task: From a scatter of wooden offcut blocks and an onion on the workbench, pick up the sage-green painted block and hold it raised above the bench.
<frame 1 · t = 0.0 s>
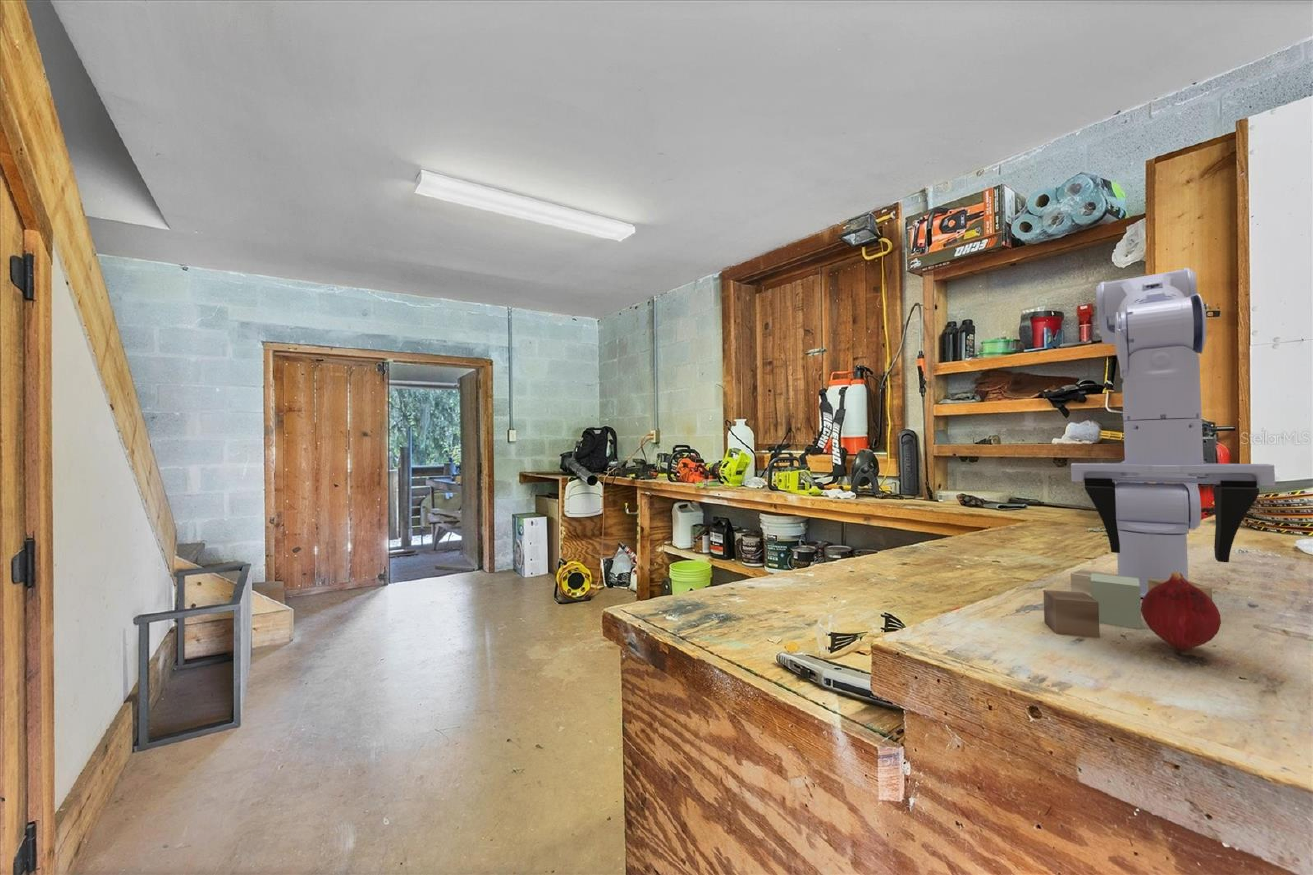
hand: (1166, 555, 53), 10 cm above the workbench, tool pointing down, fingers open, 7 cm apart
maple block: (1095, 604, 70), on the workbench
walnut block: (1070, 630, 61), on the workbench
onion: (1181, 652, 55), on the workbench
sage block: (1116, 621, 64), on the workbench
oak block: (1179, 615, 65), on the workbench
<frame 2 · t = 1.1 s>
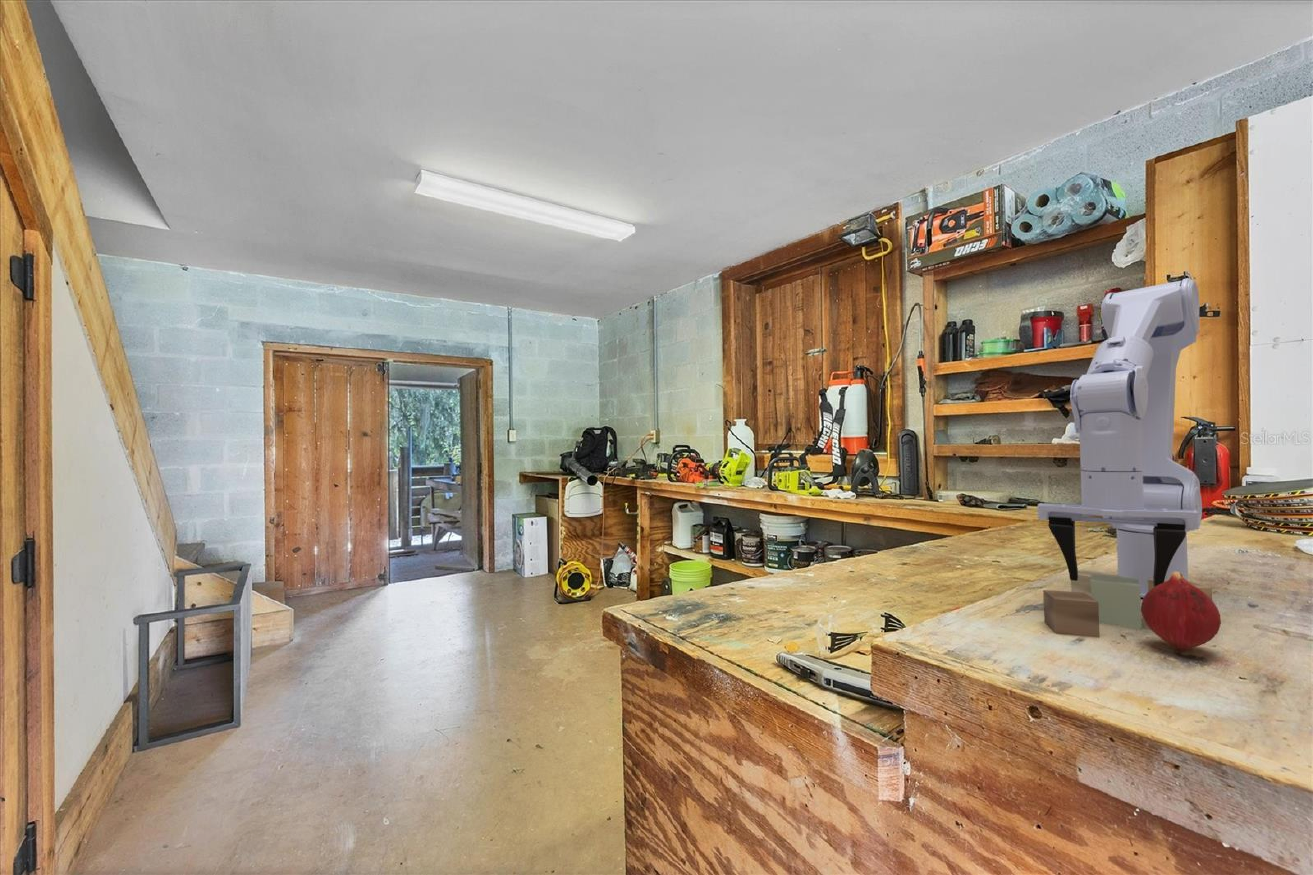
hand: (1114, 583, 64), 4 cm above the workbench, tool pointing down, fingers open, 7 cm apart
nothing on the workbench moved.
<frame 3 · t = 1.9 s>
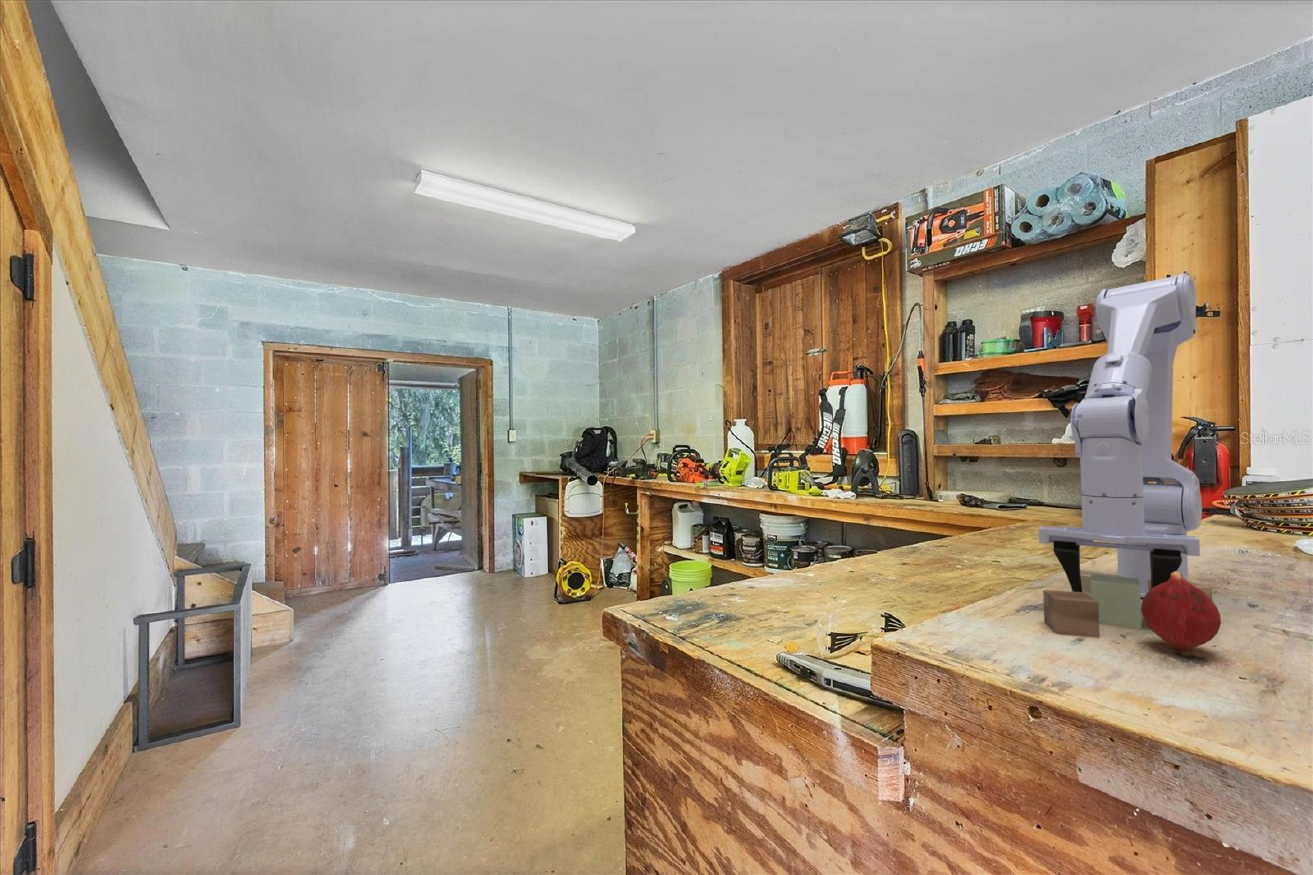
hand: (1115, 608, 64), 1 cm above the workbench, tool pointing down, fingers open, 6 cm apart
nothing on the workbench moved.
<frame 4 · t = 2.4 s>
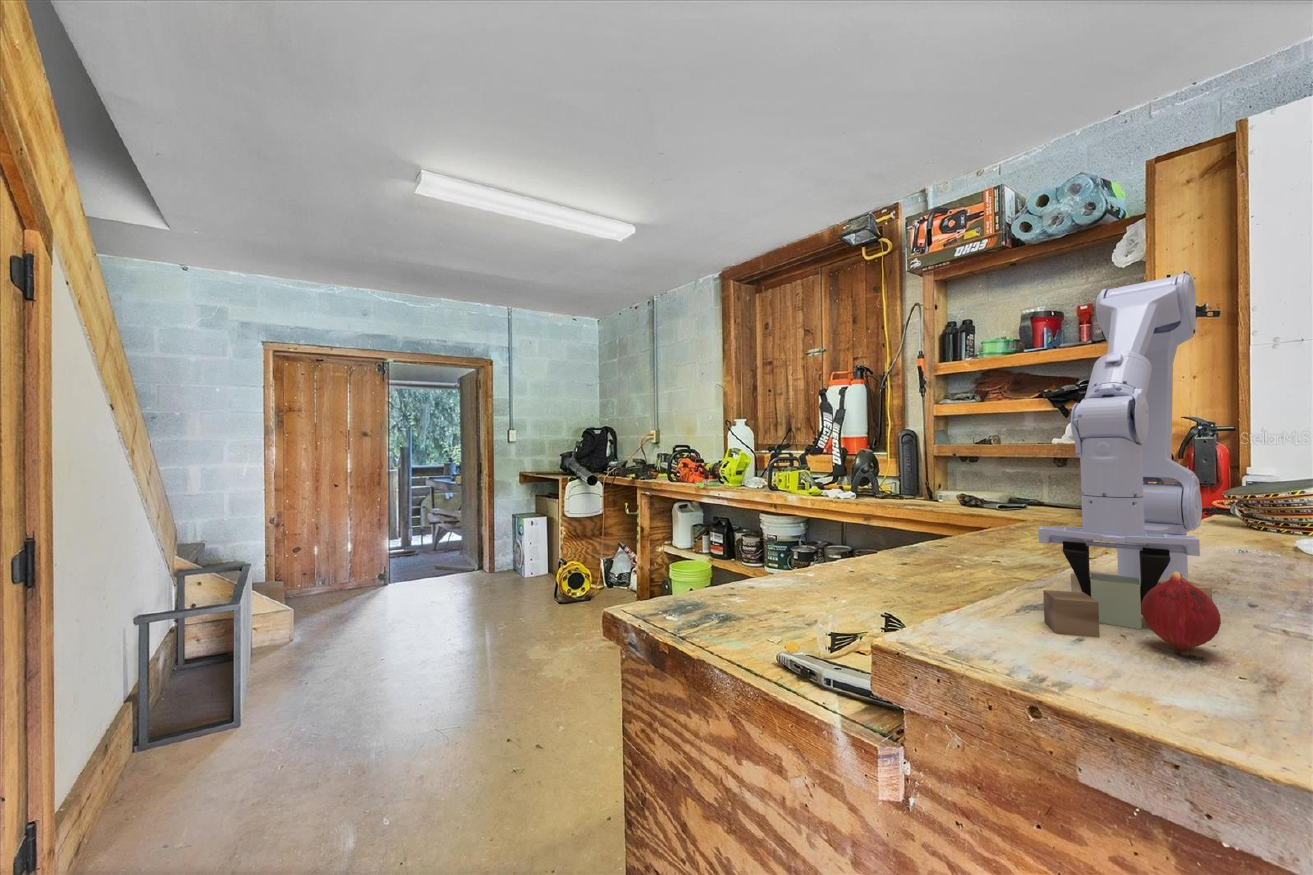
hand: (1115, 608, 64), 1 cm above the workbench, tool pointing down, fingers closed on sage block, 4 cm apart
sage block: (1116, 620, 64), on the workbench, touching gripper
everything else where it was.
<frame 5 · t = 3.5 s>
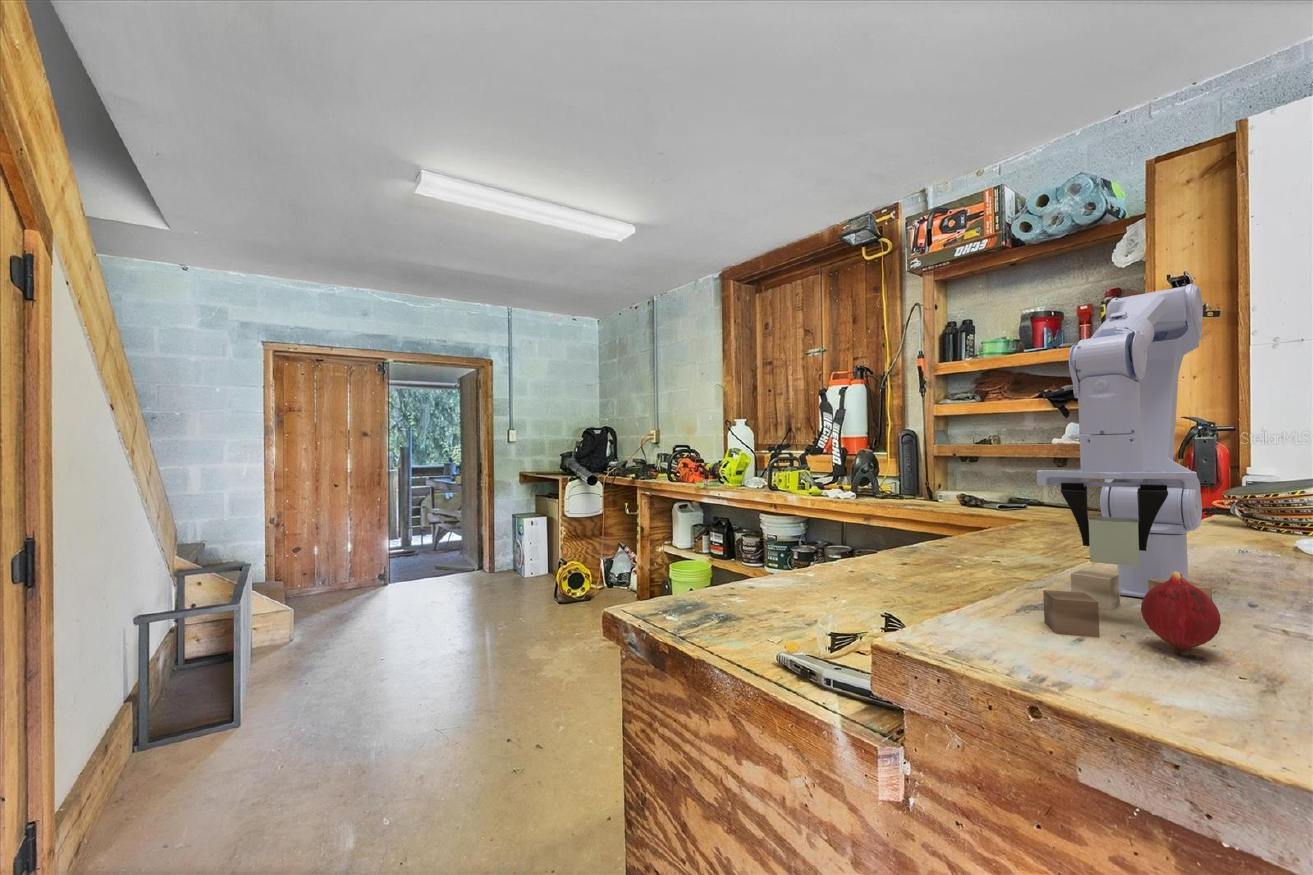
hand: (1113, 547, 64), 9 cm above the workbench, tool pointing down, fingers closed on sage block, 4 cm apart
sage block: (1114, 560, 64), point 7 cm above the workbench, touching gripper
everything else where it was.
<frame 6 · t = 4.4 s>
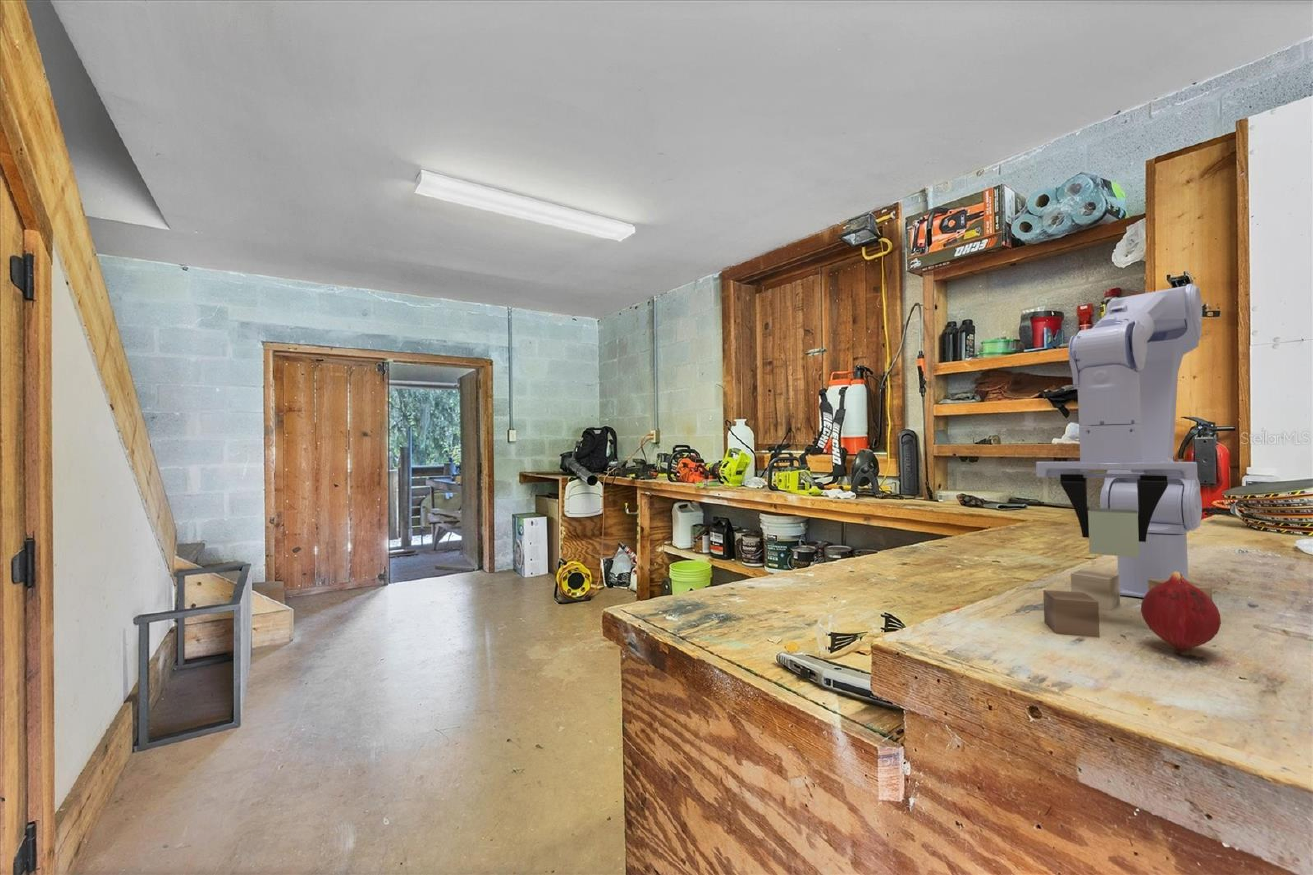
hand: (1113, 538, 64), 10 cm above the workbench, tool pointing down, fingers closed on sage block, 4 cm apart
sage block: (1113, 552, 64), point 8 cm above the workbench, touching gripper
everything else where it was.
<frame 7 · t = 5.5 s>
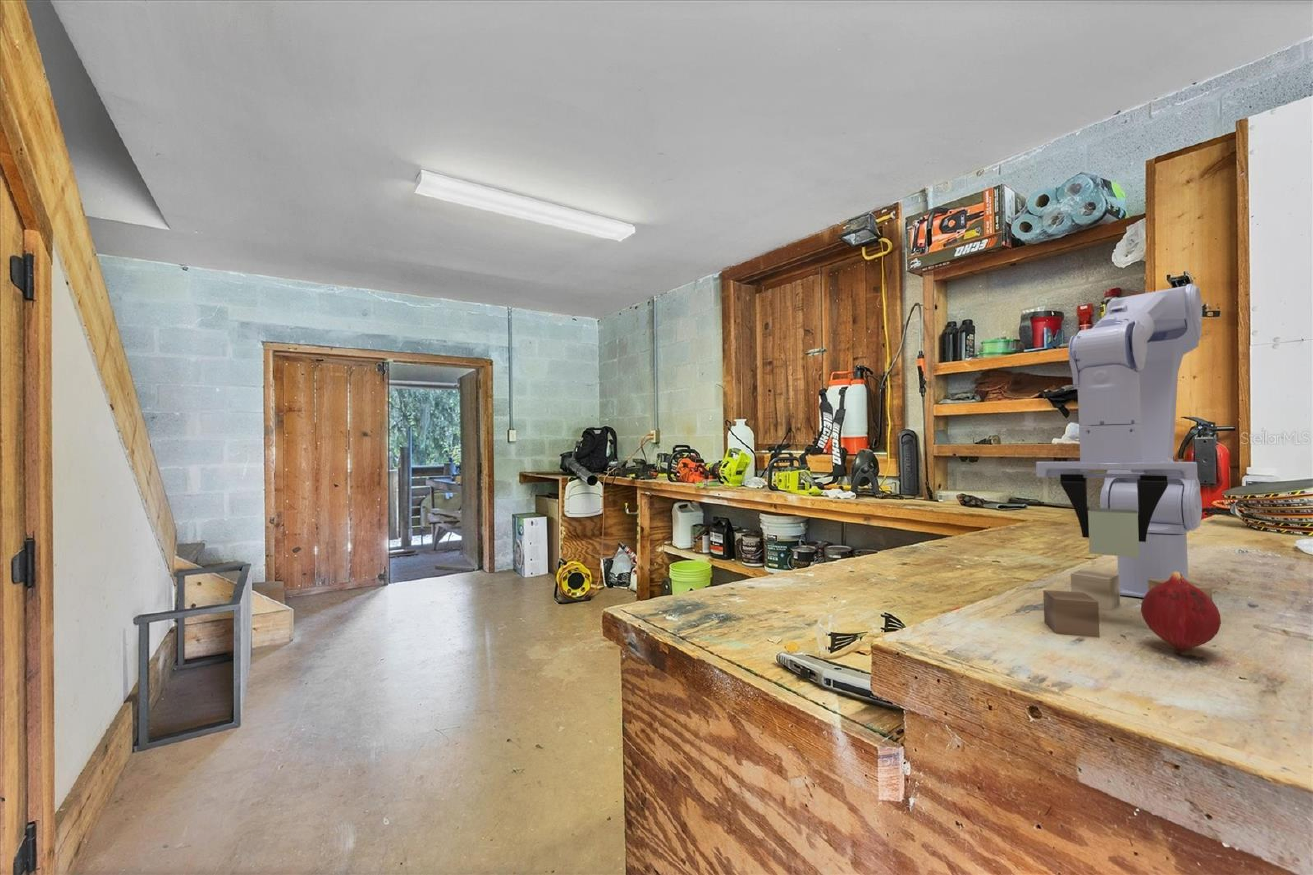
hand: (1113, 538, 64), 10 cm above the workbench, tool pointing down, fingers closed on sage block, 4 cm apart
sage block: (1113, 552, 64), point 8 cm above the workbench, touching gripper
everything else where it was.
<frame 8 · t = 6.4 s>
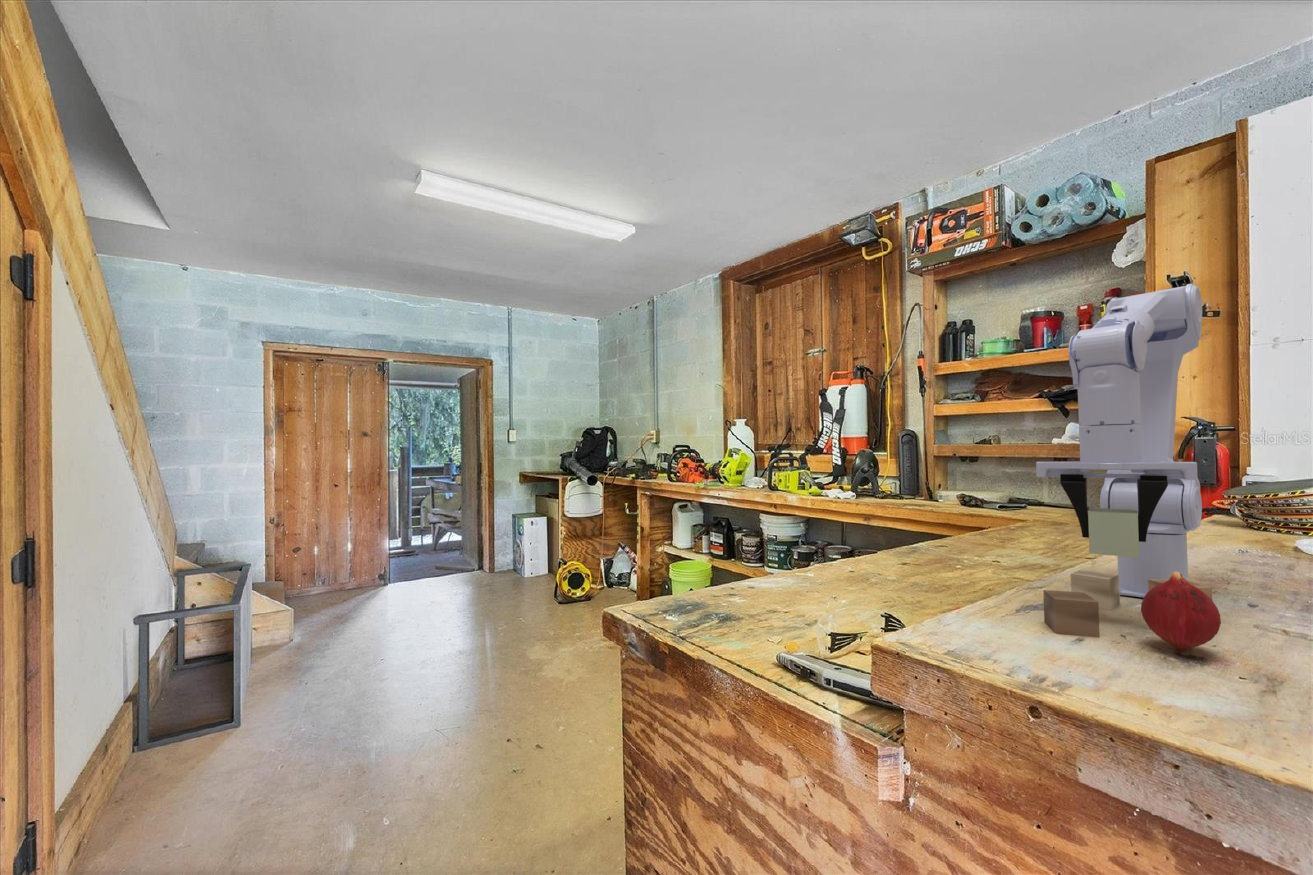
hand: (1113, 538, 64), 10 cm above the workbench, tool pointing down, fingers closed on sage block, 4 cm apart
sage block: (1113, 552, 64), point 8 cm above the workbench, touching gripper
everything else where it was.
at the end: the gripper is holding sage block; sage block point 8.3 cm above the workbench; onion moved 0.2 cm from its start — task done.
